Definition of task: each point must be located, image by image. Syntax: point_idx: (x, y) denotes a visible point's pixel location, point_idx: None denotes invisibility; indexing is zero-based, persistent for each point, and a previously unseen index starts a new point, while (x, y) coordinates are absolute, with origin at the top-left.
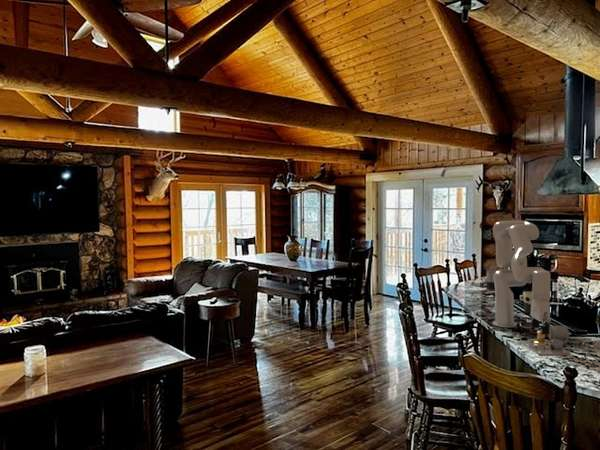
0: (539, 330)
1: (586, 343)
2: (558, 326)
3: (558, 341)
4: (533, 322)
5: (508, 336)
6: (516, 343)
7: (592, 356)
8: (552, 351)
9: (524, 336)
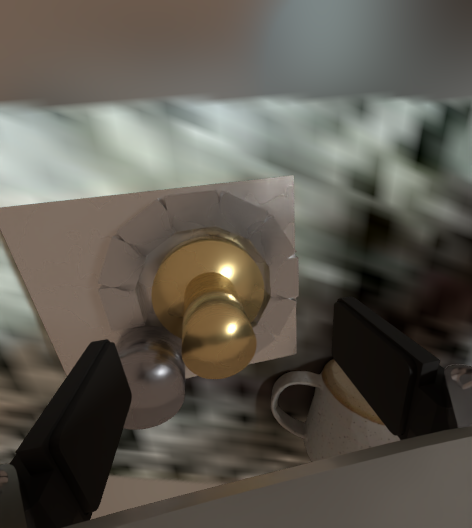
0: (254, 341)
1: (285, 468)
2: None
3: None
4: (380, 347)
5: (436, 139)
6: (285, 138)
7: None
8: (62, 318)
9: (415, 246)
